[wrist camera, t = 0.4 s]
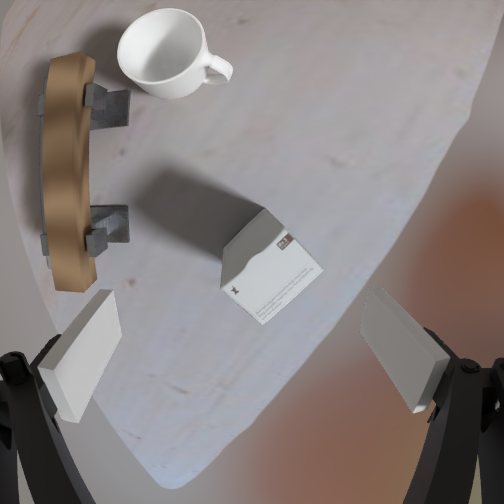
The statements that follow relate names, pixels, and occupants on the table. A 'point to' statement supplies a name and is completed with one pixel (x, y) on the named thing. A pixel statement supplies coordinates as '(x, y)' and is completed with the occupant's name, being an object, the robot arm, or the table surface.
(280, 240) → the skincare box
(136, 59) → the mug
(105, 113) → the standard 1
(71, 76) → the rail
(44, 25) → the table surface
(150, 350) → the table surface
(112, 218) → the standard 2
